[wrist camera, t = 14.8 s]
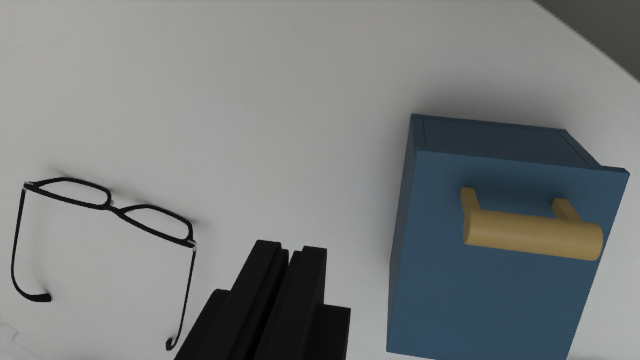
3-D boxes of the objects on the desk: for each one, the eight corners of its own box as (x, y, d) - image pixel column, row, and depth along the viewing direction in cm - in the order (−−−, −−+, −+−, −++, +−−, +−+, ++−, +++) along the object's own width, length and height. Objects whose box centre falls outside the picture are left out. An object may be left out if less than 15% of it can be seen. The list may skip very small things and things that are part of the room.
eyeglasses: (217, 222, 44) (200, 245, 40) (184, 349, 50) (167, 378, 47) (44, 160, 44) (11, 177, 40) (34, 294, 50) (5, 319, 47)
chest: (411, 113, 37) (414, 159, 28) (565, 129, 36) (619, 182, 27) (389, 264, 43) (386, 343, 34) (522, 283, 41) (555, 369, 33)
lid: (416, 145, 28) (419, 186, 23) (624, 167, 27) (679, 216, 21) (386, 343, 34) (383, 413, 28) (556, 370, 32) (585, 447, 27)
